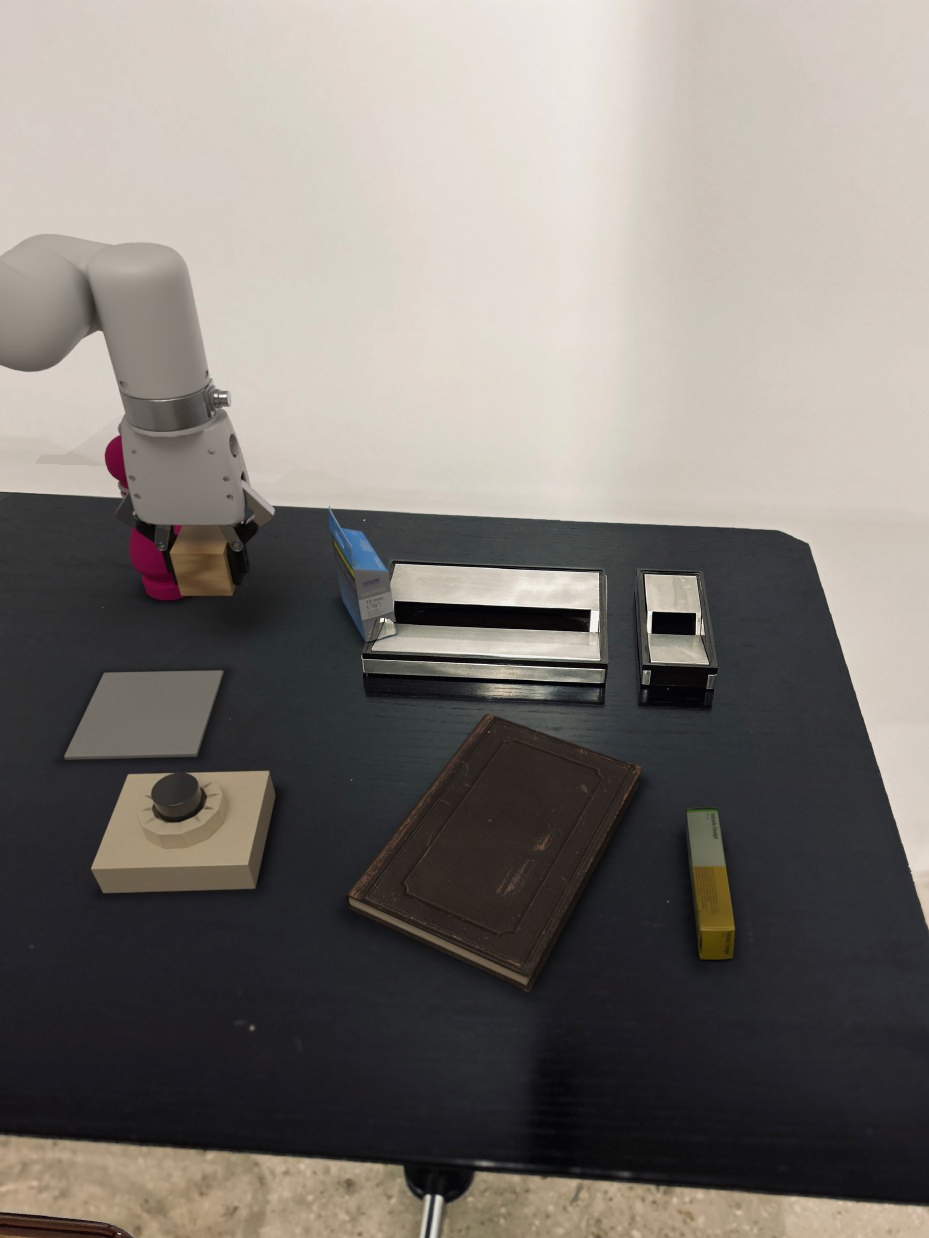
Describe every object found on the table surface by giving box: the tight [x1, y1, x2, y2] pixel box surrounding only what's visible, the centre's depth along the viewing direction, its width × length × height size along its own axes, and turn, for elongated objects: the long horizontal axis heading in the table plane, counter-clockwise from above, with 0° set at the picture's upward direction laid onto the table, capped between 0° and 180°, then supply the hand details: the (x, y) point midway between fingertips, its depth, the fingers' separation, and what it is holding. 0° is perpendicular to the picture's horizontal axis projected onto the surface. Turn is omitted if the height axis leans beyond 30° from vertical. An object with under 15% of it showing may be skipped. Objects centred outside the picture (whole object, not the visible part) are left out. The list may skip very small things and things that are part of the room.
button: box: [151, 772, 204, 823], centre depth 70 cm, size 4×4×2 cm
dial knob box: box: [90, 770, 277, 894], centre depth 72 cm, size 12×10×5 cm
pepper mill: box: [104, 422, 187, 601], centre depth 95 cm, size 7×7×20 cm
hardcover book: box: [344, 713, 643, 994], centre depth 73 cm, size 16×23×2 cm
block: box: [170, 525, 236, 597], centre depth 86 cm, size 5×5×5 cm
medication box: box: [685, 806, 736, 961], centre depth 69 cm, size 12×3×4 cm, turn 177°
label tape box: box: [328, 505, 396, 643], centre depth 93 cm, size 9×4×12 cm, turn 25°
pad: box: [63, 669, 225, 761], centre depth 85 cm, size 12×12×1 cm
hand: (210, 576), depth 88 cm, fingers closed on block, 5 cm apart
